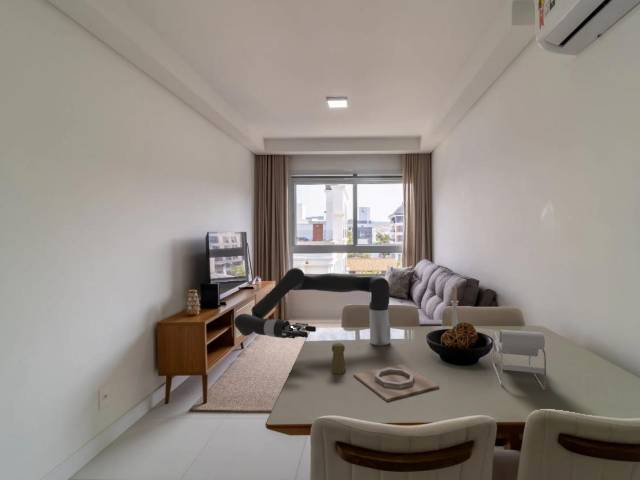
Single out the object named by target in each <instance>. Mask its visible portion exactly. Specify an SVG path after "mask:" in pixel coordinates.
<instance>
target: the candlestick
mask: <svg viewBox="0 0 640 480" xmlns="http://www.w3.org/2000/svg"><path fill="white" fill-rule="evenodd" d="M457 291H458V289H457V286H452V287H451V299H452V300H450V303H451V306H452V311H451V313H452V314H451V329H452V328H453V327H454V326H456V325H457V324H458V325H459V321H458V308H457V307H458V305H459V304H458V303H459V302H460V301H459V300H458V299H457V298H458V295H457V294H458V292H457Z"/></svg>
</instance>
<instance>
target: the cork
mask: <svg viewBox="0 0 640 480" xmlns="http://www.w3.org/2000/svg"><path fill="white" fill-rule="evenodd" d="M345 348H346V347H345V344H344V343H341V342H336V343H333V344H332V346H331V351H332V352H333V353H332V361H331V369H330V370H331V373H332V374H334V375H343V374H346V373H347V367H346V362H345V361H346V359H345V354H344V352H345Z"/></svg>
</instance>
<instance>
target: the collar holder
mask: <svg viewBox="0 0 640 480" xmlns="http://www.w3.org/2000/svg"><path fill="white" fill-rule="evenodd" d="M353 377H355V378H356V380H358V381H359V382H361V383H362V384H363V385H365V386H366V387H367V388H369V389H370V390H371V391H372V392H374V393H375V394H377V395H378V396H379V397H380V398H381V399H383V400H384V401H385V402H390V401H394V400H398V399H402V398H407V397H409V396H414V395H418V394H421V393H424V392H429V391H432V390H437V389H440V385H438V384H437V383H435V382H433V381H431V380H429V379H428V378H427V377H425V376H424V375H423V376H422V375H420V374H419V373H417V372H415V371H413V370H412V369H410V368H408V367H406V366H405V365H403V364H400V363H399V364H395V365H390V366H387V367H386V366H385V367H381V368H377V369H372V370H371V369H370V370H367V371H362V372H359V373H354V374H353Z"/></svg>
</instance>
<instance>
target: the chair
mask: <svg viewBox="0 0 640 480" xmlns="http://www.w3.org/2000/svg"><path fill="white" fill-rule="evenodd" d="M498 337H499V338H498ZM545 341H546V340H545V335H544V333H543V332H539V331H526V330H525V331H523V330H510V329H509V330H508V329H507V330H506V329H500V331H499V336H497V333H496V331H493V338H492V349H493V350H492V356H491V357H492V358H491V359H492V365H493V368H494V371H495V373H496V376H497V379H498V382H499V384H500V386H503V381H504V380H503V370H504V371H513V372H514V371H515V372H525V373H531V374H533V375H534V378H535V379H536V380H537V383H539V385H540V386H541V389H542V390H543V391H546V390H547V357H546V352H545V346H546V345H545V344H546V343H545ZM539 350H541V351H542V353H543V361H544V363H543V365H544V367H543V368H542V367H534V366H533V367H532V366H531V357H538V356H539ZM495 352H497V354H500V375H499V373H498V371H497V367H496V365H495V360H494V359H495V358H494V355H495ZM503 354H506V355H517V356H525V357H528V366H522V365H512V364H505V363H504V364H503ZM537 374H542V375H543V378H544V380H543V381H544V383H543V384H542V383H541V381H540V379H539V378H538V376H537ZM500 378H501V379H500Z"/></svg>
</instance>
